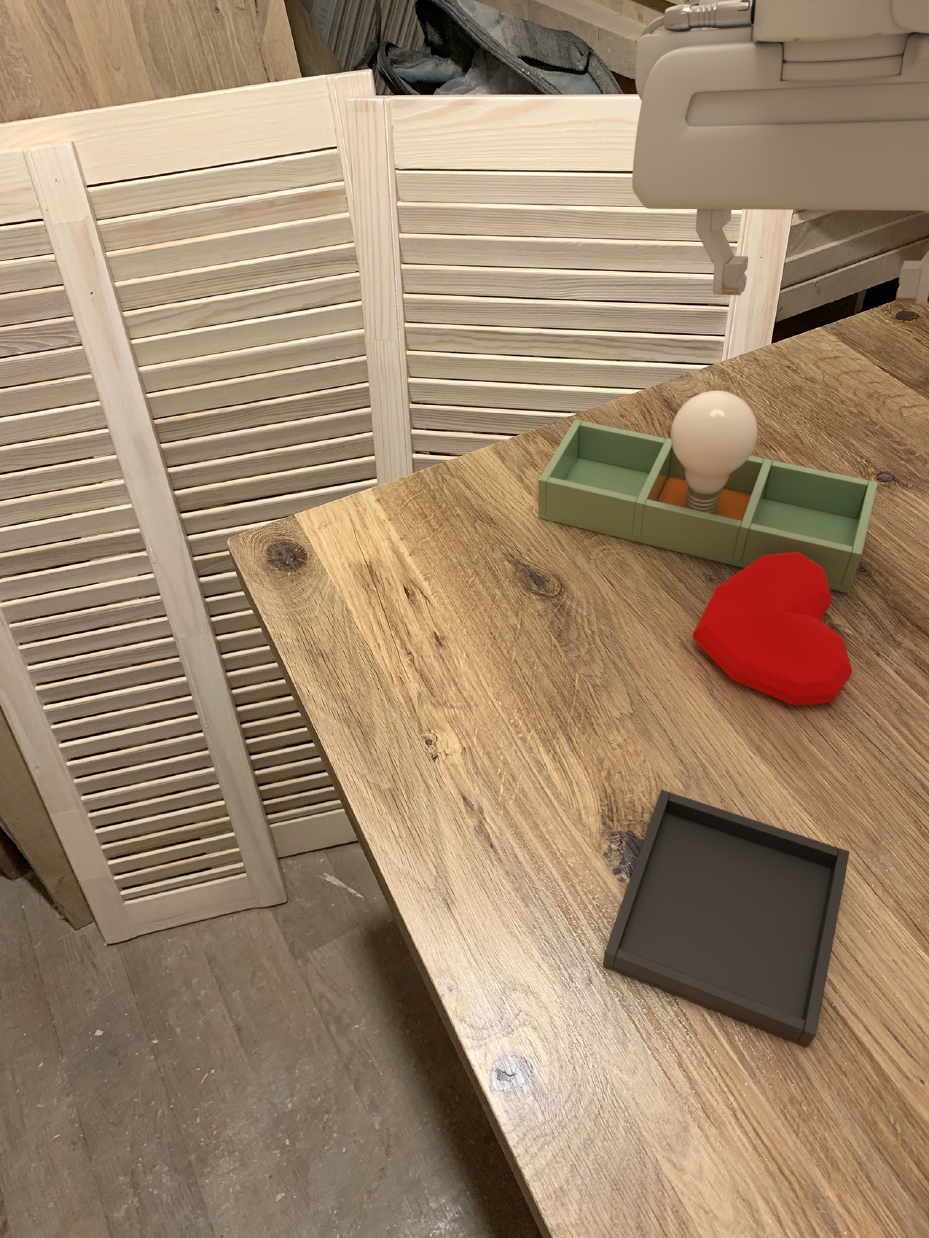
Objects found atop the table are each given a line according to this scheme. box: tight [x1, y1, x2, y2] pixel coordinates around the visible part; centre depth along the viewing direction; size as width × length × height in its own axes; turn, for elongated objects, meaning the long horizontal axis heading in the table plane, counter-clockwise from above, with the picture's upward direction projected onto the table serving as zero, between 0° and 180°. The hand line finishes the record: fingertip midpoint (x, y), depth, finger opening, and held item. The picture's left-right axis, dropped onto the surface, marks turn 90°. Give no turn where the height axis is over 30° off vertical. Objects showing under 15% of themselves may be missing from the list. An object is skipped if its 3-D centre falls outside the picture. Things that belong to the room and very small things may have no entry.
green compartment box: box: [538, 419, 879, 594], centre depth 75 cm, size 25×9×4 cm, turn 66°
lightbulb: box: [670, 390, 759, 514], centre depth 72 cm, size 6×6×11 cm
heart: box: [691, 552, 853, 706], centre depth 66 cm, size 12×4×10 cm
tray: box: [602, 789, 850, 1048], centre depth 53 cm, size 11×11×2 cm
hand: (816, 296), depth 50 cm, fingers open, 8 cm apart
